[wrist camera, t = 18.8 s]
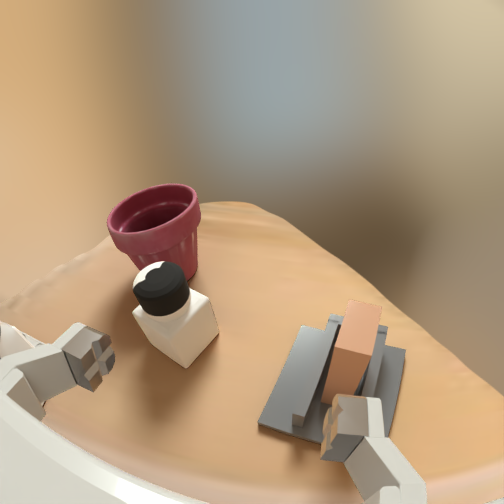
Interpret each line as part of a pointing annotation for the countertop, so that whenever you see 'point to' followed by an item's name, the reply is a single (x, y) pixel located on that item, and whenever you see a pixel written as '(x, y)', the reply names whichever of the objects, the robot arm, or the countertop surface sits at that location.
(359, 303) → the tall tan pillar block
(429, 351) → the countertop surface
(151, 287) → the medicine bottle
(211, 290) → the countertop surface
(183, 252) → the plant pot
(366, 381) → the rack
